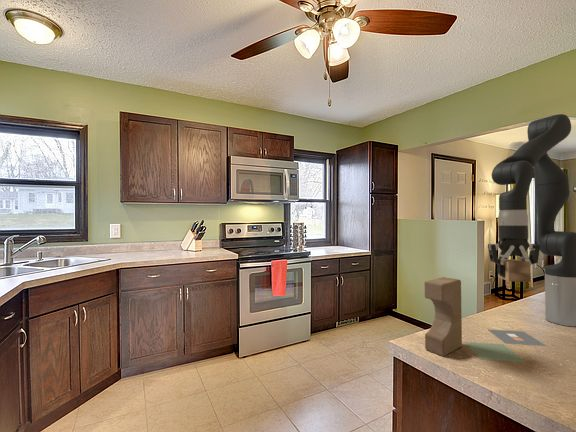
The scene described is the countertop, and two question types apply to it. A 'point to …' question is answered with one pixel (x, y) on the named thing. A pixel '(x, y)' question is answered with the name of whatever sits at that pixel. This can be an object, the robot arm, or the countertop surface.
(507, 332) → the tile
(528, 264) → the walnut block
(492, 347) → the mat
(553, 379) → the countertop surface
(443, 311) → the decorative block
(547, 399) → the countertop surface
